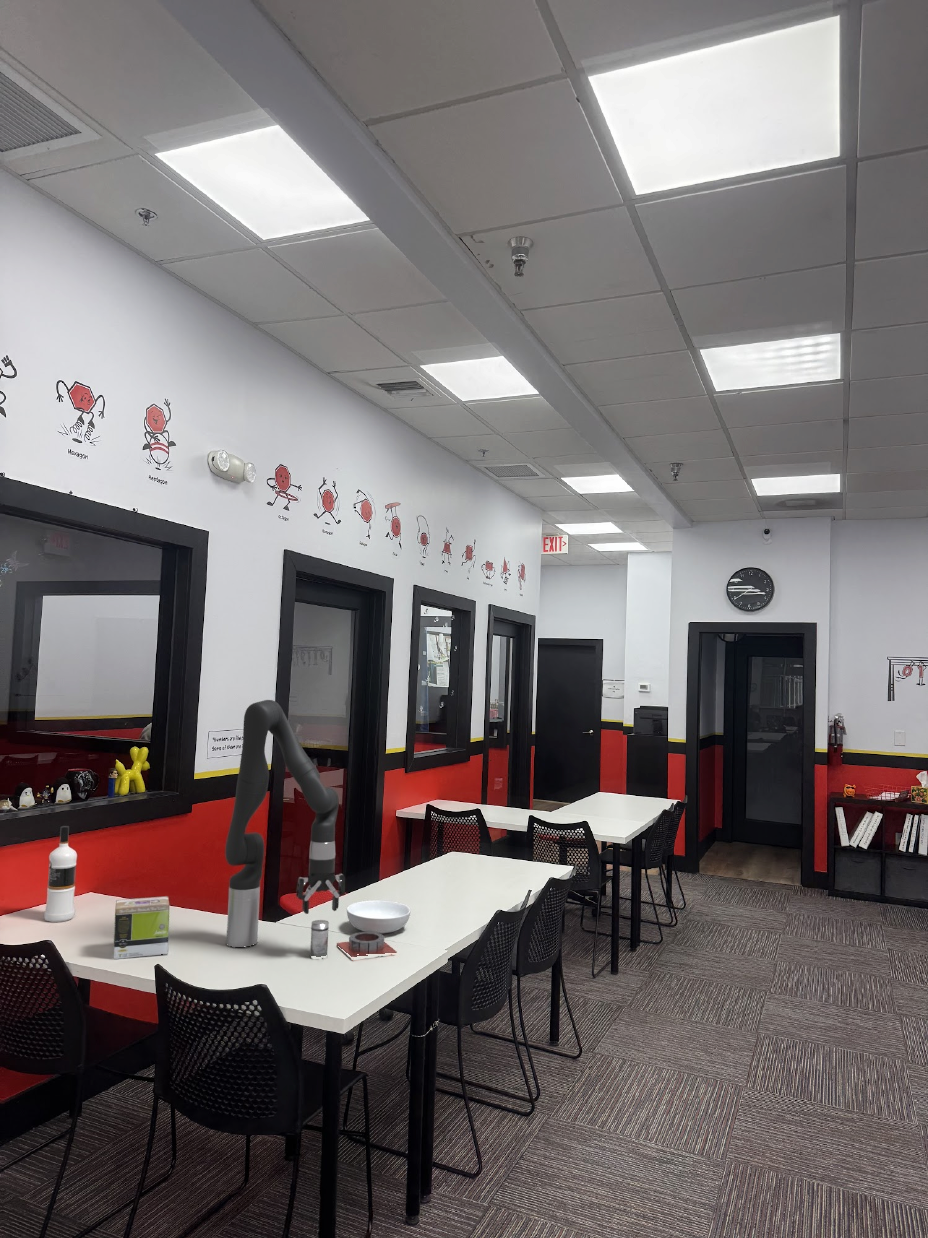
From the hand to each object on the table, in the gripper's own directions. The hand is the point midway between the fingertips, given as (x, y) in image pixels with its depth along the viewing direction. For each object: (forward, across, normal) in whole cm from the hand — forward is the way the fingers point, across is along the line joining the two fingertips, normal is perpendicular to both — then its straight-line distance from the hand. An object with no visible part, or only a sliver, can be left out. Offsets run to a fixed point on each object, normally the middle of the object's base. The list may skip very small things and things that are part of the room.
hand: (320, 911), depth 253 cm
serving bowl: (+13, -26, -19) cm, 35 cm away
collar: (+13, -15, -1) cm, 20 cm away
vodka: (+12, +68, -66) cm, 95 cm away
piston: (+13, 0, -1) cm, 13 cm away
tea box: (+13, +47, -23) cm, 54 cm away
